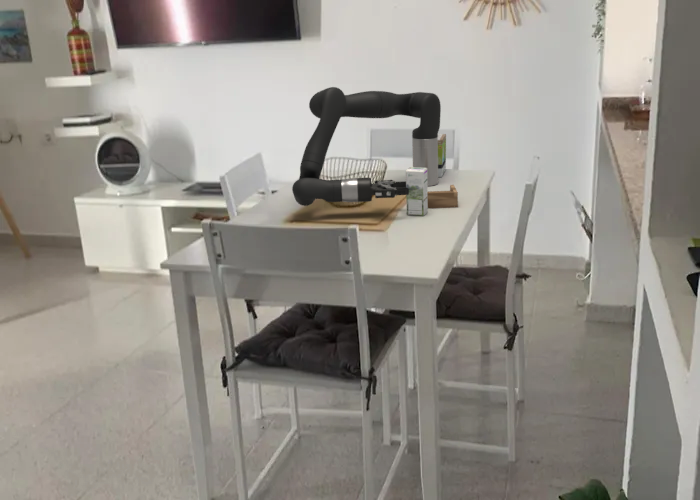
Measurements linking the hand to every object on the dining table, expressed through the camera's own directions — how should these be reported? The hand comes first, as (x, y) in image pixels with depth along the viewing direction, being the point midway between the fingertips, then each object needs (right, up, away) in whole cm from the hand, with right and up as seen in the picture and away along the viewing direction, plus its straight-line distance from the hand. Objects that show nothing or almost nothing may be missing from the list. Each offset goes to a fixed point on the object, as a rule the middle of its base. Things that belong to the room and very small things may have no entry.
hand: (408, 187), depth 234 cm
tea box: (+14, +10, +59) cm, 62 cm away
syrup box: (+3, -8, +2) cm, 9 cm away
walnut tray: (+11, -4, +13) cm, 18 cm away
